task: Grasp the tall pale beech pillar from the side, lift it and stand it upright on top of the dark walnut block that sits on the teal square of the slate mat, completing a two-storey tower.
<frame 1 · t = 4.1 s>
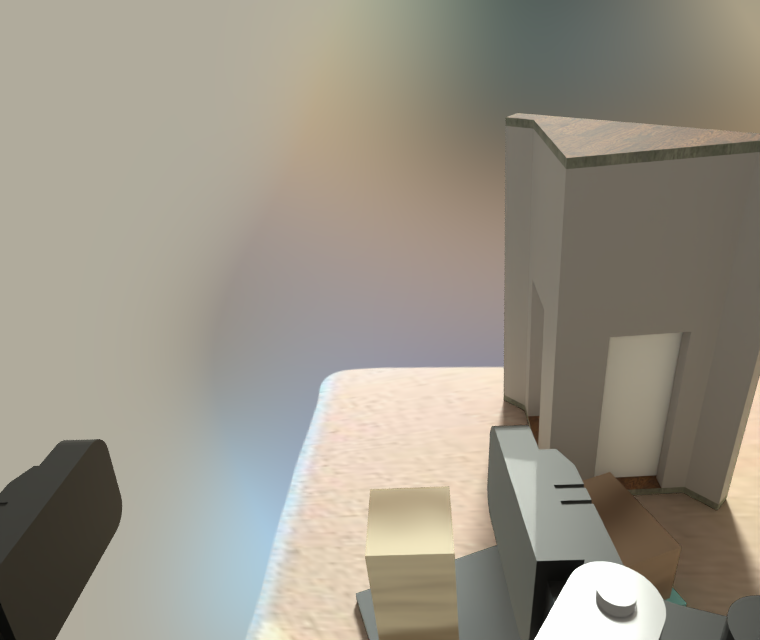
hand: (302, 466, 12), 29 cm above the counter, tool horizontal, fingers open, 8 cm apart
mat: (529, 634, 38), on the counter
cabinet: (574, 467, 51), on the counter
base block: (591, 572, 40), point 1 cm above the counter, touching mat
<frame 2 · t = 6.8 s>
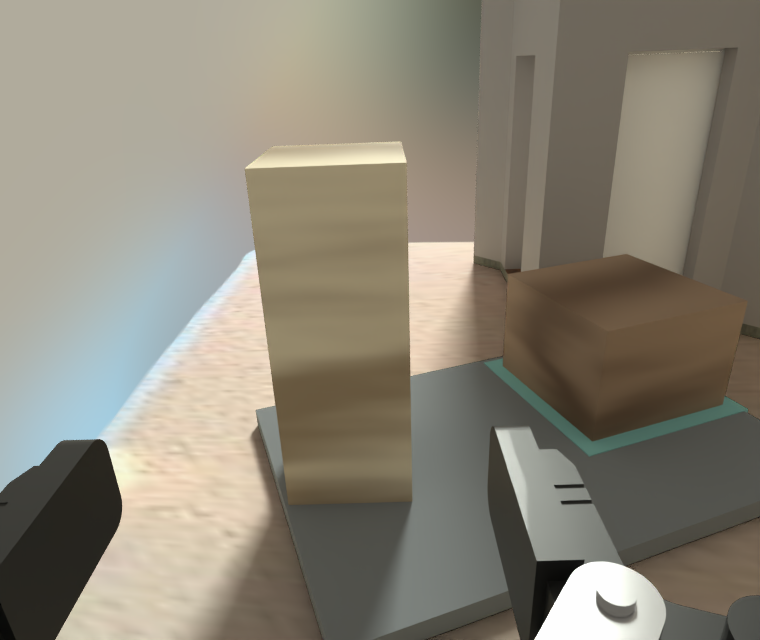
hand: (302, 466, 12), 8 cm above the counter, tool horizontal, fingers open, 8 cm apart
mat: (518, 452, 25), on the counter
pillar: (353, 463, 23), point 1 cm above the counter, touching mat
cabinet: (567, 310, 38), on the counter
base block: (604, 383, 28), point 1 cm above the counter, touching mat
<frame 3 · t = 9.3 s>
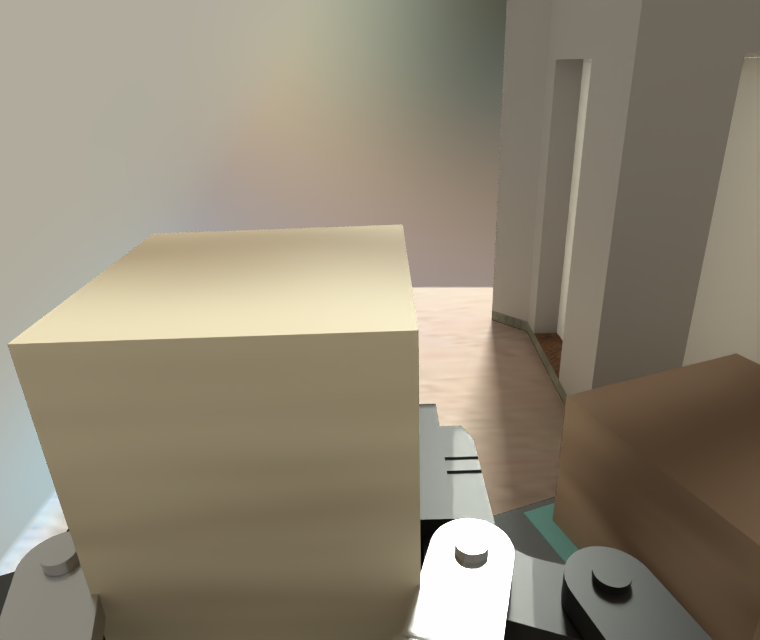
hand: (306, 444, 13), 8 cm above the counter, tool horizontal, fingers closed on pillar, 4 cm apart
cabinet: (623, 400, 29), on the counter
base block: (715, 564, 18), point 1 cm above the counter, touching mat
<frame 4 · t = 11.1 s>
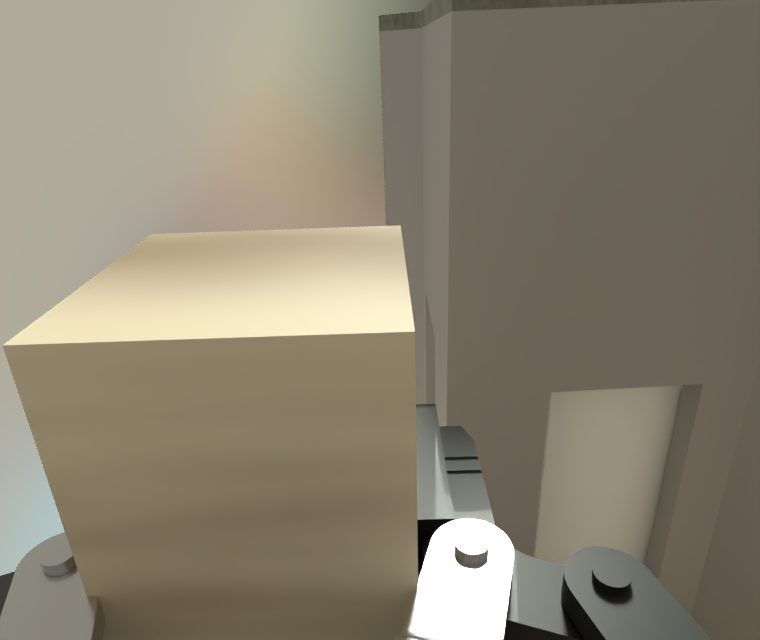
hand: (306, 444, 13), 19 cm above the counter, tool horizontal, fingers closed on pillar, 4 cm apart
cabinet: (495, 610, 30), on the counter
when the fingers open (14 cm above the counter, at t = 13.0 s): pillar drops 1 cm, resting on base block.
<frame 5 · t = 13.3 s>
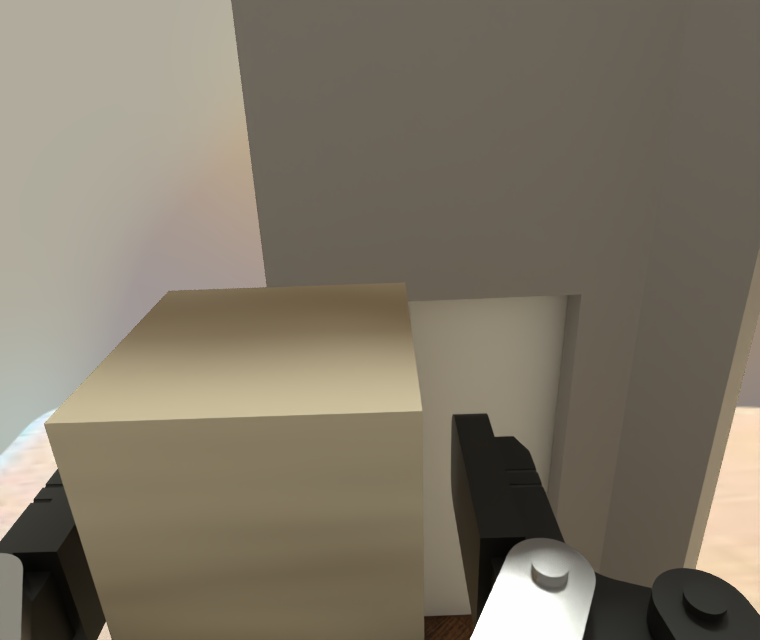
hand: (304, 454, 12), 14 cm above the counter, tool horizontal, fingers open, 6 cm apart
cabinet: (391, 587, 26), on the counter
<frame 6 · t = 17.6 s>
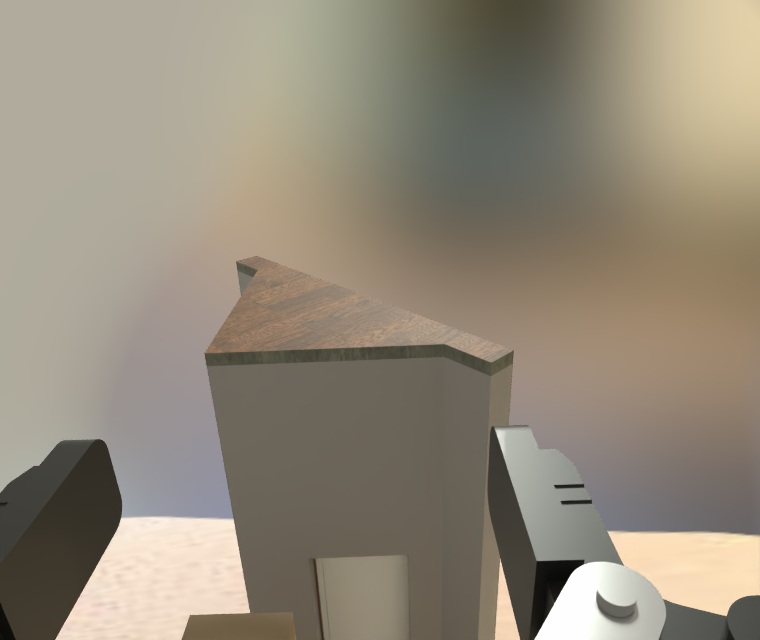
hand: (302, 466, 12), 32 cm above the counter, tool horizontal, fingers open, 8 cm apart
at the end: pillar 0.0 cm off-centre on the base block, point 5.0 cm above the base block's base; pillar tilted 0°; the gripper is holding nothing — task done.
